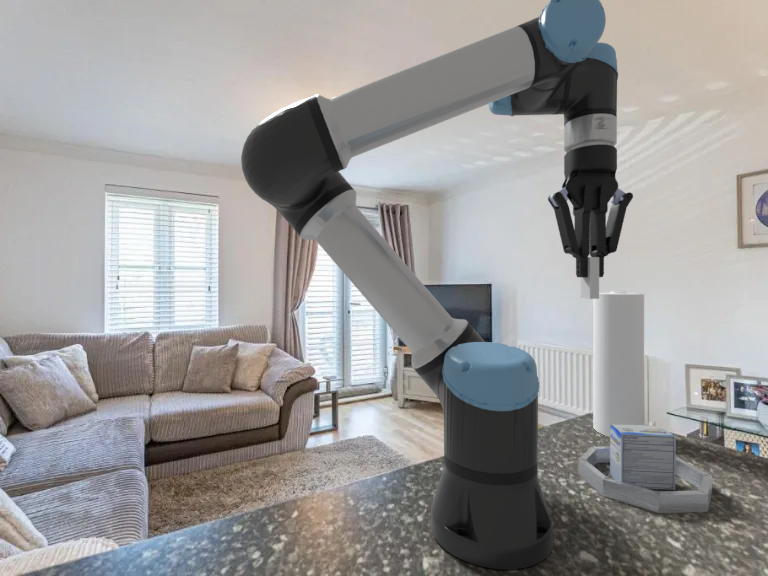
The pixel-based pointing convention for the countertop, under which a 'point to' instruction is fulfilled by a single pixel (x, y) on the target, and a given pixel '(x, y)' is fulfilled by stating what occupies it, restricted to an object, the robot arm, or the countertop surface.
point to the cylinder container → (618, 360)
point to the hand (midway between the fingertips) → (589, 298)
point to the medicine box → (643, 456)
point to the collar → (646, 497)
